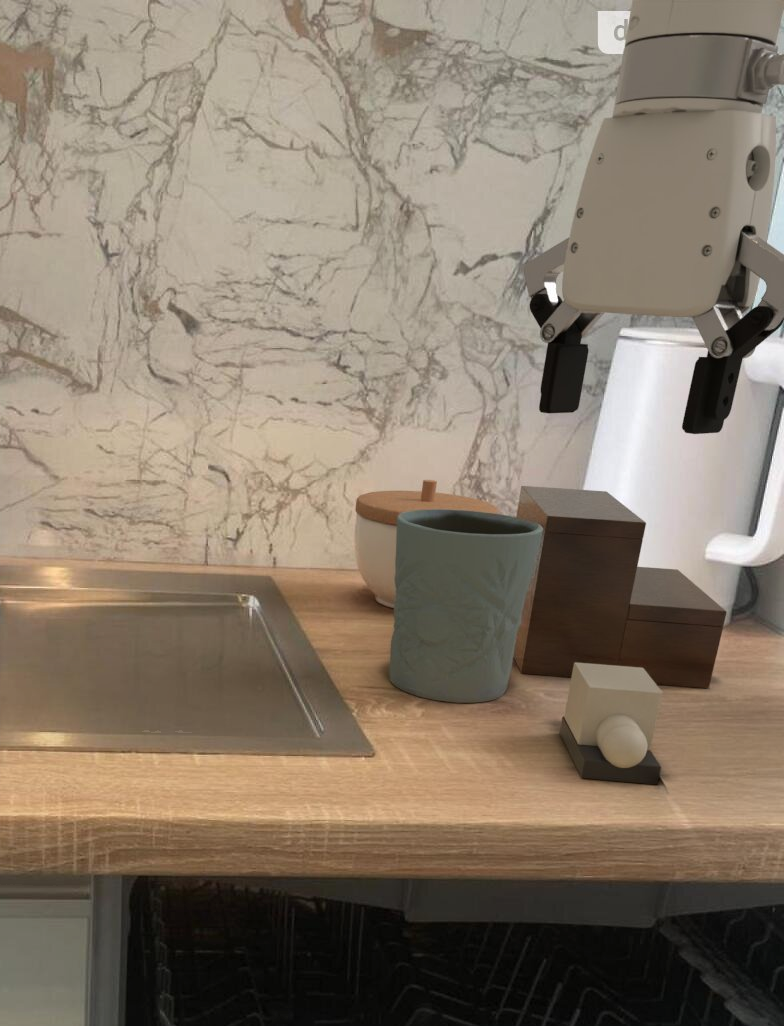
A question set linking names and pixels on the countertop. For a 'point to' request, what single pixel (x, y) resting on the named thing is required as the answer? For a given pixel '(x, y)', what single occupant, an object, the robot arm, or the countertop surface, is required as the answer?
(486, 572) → the grey-green ceramic cup
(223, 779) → the countertop surface
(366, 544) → the lidded bowl
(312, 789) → the countertop surface
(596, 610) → the stepped wooden block
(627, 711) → the cream and grey block
